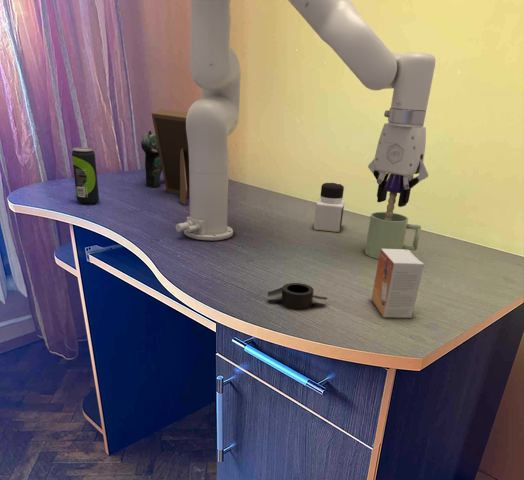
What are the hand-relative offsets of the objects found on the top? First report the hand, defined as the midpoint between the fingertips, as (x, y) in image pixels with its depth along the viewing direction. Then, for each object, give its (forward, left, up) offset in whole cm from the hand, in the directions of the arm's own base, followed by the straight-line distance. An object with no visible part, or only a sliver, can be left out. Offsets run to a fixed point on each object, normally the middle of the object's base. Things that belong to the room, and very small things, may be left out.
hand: (391, 202), depth 120 cm
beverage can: (-26, +84, -13) cm, 89 cm away
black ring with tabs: (-40, -3, -13) cm, 42 cm away
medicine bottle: (+9, +22, -13) cm, 27 cm away
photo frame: (+1, +71, -13) cm, 72 cm away
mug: (+1, -2, -12) cm, 13 cm away
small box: (-29, -17, -13) cm, 36 cm away
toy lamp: (0, 0, -10) cm, 10 cm away
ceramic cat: (+11, +92, -13) cm, 93 cm away
